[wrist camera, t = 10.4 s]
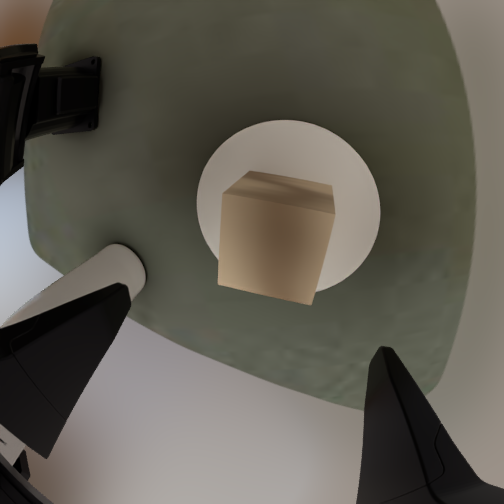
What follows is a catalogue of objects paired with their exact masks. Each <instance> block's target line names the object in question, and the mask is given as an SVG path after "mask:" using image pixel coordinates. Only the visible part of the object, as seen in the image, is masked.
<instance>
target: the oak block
mask: <svg viewBox="0 0 504 504" xmlns="http://www.w3.org/2000/svg"><path fill="white" fill-rule="evenodd" d="M335 215H336V214H335V205H334V197H333V190H332V185H327V184H323V183H318V182H313V181H308V180H303V179H297V178H292V177H286V176H281V175H275V174H269V173H263V172H256V171H249V172H247V173H246V174H245V175H244V176H243V177H241V178H240V179H239V180H238V181H236V182H235V183H234V184H233V185H232V186H230V187H229V188H228V189H227V190H226V191H224V192H223V193H222V206H221V223H220V243H219V265H218V284H219V285H223V286H227V287H231V288H235V289H239V290H244V291H248V292H252V293H257V294H261V295H265V296H270V297H274V298H279V299H283V300H288V301H293V302H297V303H302V304H307V305H312V301H313V298H314V295H315V291H316V288H317V284H318V281H319V277H320V274H321V270H322V266H323V263H324V259H325V255H326V251H327V248H328V244H329V240H330V236H331V232H332V228H333V223H334V219H335Z"/></svg>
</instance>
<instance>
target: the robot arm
mask: <svg viewBox="0 0 504 504" xmlns="http://www.w3.org/2000/svg"><path fill="white" fill-rule="evenodd" d="M44 59H45V56H43V55H39V54H38V48H37V44H18V45H9V46H4V47H0V185H1V184H2V183H3V182H4V181H5V180H7V179H8V178H9V177H10V176H12V175H13V174H14V173H15V172H17V171H18V170H19V169H21V168H22V167H23V166H24V159H23V156H24V147H25V141H26V140H29V139H32V138H36V137H39V136H43V135H46V134H50V133H52V134H53V135H55V134H64V133H73V132H84V131H92V130H95V129H96V128H97V109H98V86H99V73H100V62H101V59H100V57H96V56H94V57H90V58H87V59H84V60H81V61H78V62H75V63H72V64H69V65H67V66H64V67H48V68H41V65H42V63H43V62H44ZM94 62H95V63H94ZM91 123H92V126H91ZM130 307H131V298H130V293H129V288H128V286H127V285H125V284H122V283H119V282H117V283H114V284H112V285H109V286H107V287H104V288H102V289H99V290H97V291H94V292H92V293H89V294H87V295H84V296H82V297H79V298H77V299H74V300H72V301H69V302H67V303H64V304H62V305H59V306H57V307H55V308H52V309H50V310H47V311H45V312H43V313H40V314H38V315H35V316H33V317H31V318H28V319H26V320H23V321H20V322H17V323H15V324H12V325H9V326H6V327H3V328H0V504H53V503H52V502H51V501H50V500H49V499H47V498H46V497H45V496H44V495H43V494H41V493H40V492H39V491H38V490H37V489H36V488H35V487H33V486H32V485H31V484H30V483H29V482H28V479H29V477H30V472H29V467H28V462H27V456H26V451H25V450H24V447H25V446H26V445H27V446H28V447H30V448H31V449H32V450H34V451H35V452H36V453H38V454H40V455H41V456H42V457H44V458H45V459H47V458H48V457H49V455H50V453H51V451H52V449H53V446H54V444H55V443H56V441H57V439H58V437H59V435H60V433H61V431H62V429H63V427H64V425H65V423H66V420H67V419H68V417H69V415H70V413H71V412H72V410H73V408H74V406H75V404H76V403H77V401H78V399H79V397H80V395H81V394H82V392H83V390H84V388H85V387H86V385H87V383H88V382H89V379H90V378H91V377H92V375H93V373H94V371H95V370H96V368H97V366H98V365H99V363H100V362H101V360H102V358H103V357H104V355H105V353H106V352H107V350H108V349H109V347H110V345H111V344H112V342H113V340H114V339H115V337H116V335H117V333H118V331H119V329H120V327H121V325H122V323H123V321H124V319H125V317H126V315H127V313H128V311H129V310H130ZM356 504H504V489H503V488H500V487H496V486H493V485H490V484H488V483H486V482H484V481H482V480H481V479H480V478H479V477H478V476H477V475H476V473H475V472H474V470H473V469H472V468H471V467H470V465H469V464H468V462H467V461H466V459H465V458H464V456H463V455H462V454H461V452H460V451H459V450H458V448H457V446H456V445H455V444H454V442H453V441H452V439H451V437H450V436H449V434H448V433H447V431H446V429H445V428H444V426H443V424H441V421H440V420H439V418H438V416H437V415H436V413H435V412H434V410H433V408H432V407H431V405H430V404H429V402H428V401H427V399H426V398H425V396H424V394H423V393H422V391H421V390H420V388H419V387H418V385H417V384H416V382H415V381H414V379H413V378H412V376H411V375H410V373H409V372H408V370H407V369H406V367H405V366H404V364H403V363H402V361H401V360H400V358H399V357H398V356H397V354H396V353H395V351H394V350H393V349H392V348H391V347H386V346H381V347H379V349H378V350H377V352H376V353H375V355H374V357H373V358H372V360H371V362H370V365H369V372H368V382H367V390H366V398H365V407H364V431H363V448H362V460H361V471H360V479H359V487H358V494H357V501H356Z"/></svg>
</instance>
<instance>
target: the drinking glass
mask: <svg viewBox="0 0 504 504" xmlns="http://www.w3.org/2000/svg"><path fill="white" fill-rule="evenodd" d="M145 281H146V274H145V270H144V267H143V265H142V263H141V261H140V259H139V258H138V257H137V255H136V254H135V253H134V252H133V251H132V250H130V249H129V248H127V247H125V246H123V245H120V244H111V245H108V246H106V247H105V248H103V249H102V250H101V251H100V252H98V253H97V254H96V255H94V256H93V257H91V258H90V259H88V260H87V261H85V262H84V263H82V264H81V265H79V266H78V267H76V268H74V269H73V270H72V271H70V272H69V273H67V274H66V275H64V276H63V277H61V278H60V279H58V280H57V281H55V282H54V283H52V284H51V285H50V286H48V287H47V288H45V289H44V290H42V291H41V292H40V293H38V294H37V295H35V296H34V297H33V298H31V299H30V300H29V301H27V302H26V303H25V304H24V305H23V306H21V307H20V308H19V309H18V310H17V311H16V312H15V313H13V314H12V315H11V316H10V317H9V318H8V319H7V320H6V321H5V322H4V323H3V325H2V326H1V327H0V328H3V327H6V326H9V325H12V324H15V323H17V322H20V321H23V320H26V319H28V318H31V317H33V316H35V315H38V314H40V313H43V312H45V311H47V310H50V309H52V308H55V307H57V306H59V305H62V304H64V303H67V302H69V301H72V300H74V299H77V298H79V297H82V296H84V295H87V294H89V293H92V292H94V291H97V290H99V289H102V288H104V287H107V286H109V285H112V284H114V283H117V282H119V283H122V284H125V285H127V286H128V288H129V293H130V298H131V302H132V300H133V299H134V298H135V297H136V296H137V295H138V294H139V292H140V291H141V290H142V289H143V287H144V285H145Z"/></svg>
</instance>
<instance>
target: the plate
mask: <svg viewBox="0 0 504 504" xmlns="http://www.w3.org/2000/svg"><path fill="white" fill-rule="evenodd" d="M249 171H256V172H263V173H269V174H275V175H281V176H286V177H292V178H297V179H303V180H308V181H313V182H318V183H323V184H327V185H332V190H333V197H334V205H335V214H336V215H335V219H334V223H333V228H332V232H331V236H330V240H329V244H328V248H327V251H326V255H325V259H324V263H323V266H322V270H321V274H320V277H319V281H318V284H317V288H316V291H315V292H317V291H320V290H324V289H327V288H329V287H331V286H334V285H336V284H337V283H339V282H341V281H342V280H344V279H345V278H347V277H348V276H349V275H351V274H352V273H353V272H354V271H355V270H356V269H357V268H358V267H359V266H360V265H361V264H362V263H363V261H364V260H365V259H366V257H367V256H368V254H369V252H370V250H371V249H372V247H373V244H374V242H375V239H376V237H377V233H378V229H379V223H380V200H379V195H378V190H377V187H376V184H375V181H374V179H373V176H372V174H371V172H370V170H369V169H368V167H367V165H366V164H365V162H364V161H363V160H362V158H361V157H360V155H359V154H358V153H357V152H356V151H355V150H354V149H353V148H352V147H351V146H350V145H349V144H348V143H347V142H346V141H344V140H343V139H342V138H340V137H339V136H338V135H336V134H334V133H332V132H331V131H329V130H327V129H325V128H323V127H320V126H317V125H315V124H311V123H307V122H303V121H295V120H275V121H268V122H263V123H259V124H256V125H253V126H250V127H247V128H245V129H243V130H241V131H240V132H238V133H236V134H234V135H233V136H232V137H230V138H229V139H227V140H226V141H225V142H224V143H223V144H222V145H221V146H220V147H219V148H218V149H217V150H216V151H215V152H214V154H213V155H212V156H211V158H210V159H209V161H208V163H207V165H206V166H205V168H204V170H203V173H202V176H201V178H200V182H199V186H198V192H197V214H198V220H199V224H200V227H201V231H202V234H203V236H204V238H205V240H206V242H207V244H208V246H209V247H210V249H211V251H212V252H213V254H214V255H215V256H216V258H217V259H218V260H219V243H220V223H221V206H222V193H223V192H224V191H226V190H227V189H228V188H229V187H230V186H232V185H233V184H234V183H235V182H236V181H238V180H239V179H240V178H241V177H243V176H244V175H245V174H246V173H247V172H249Z"/></svg>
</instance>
